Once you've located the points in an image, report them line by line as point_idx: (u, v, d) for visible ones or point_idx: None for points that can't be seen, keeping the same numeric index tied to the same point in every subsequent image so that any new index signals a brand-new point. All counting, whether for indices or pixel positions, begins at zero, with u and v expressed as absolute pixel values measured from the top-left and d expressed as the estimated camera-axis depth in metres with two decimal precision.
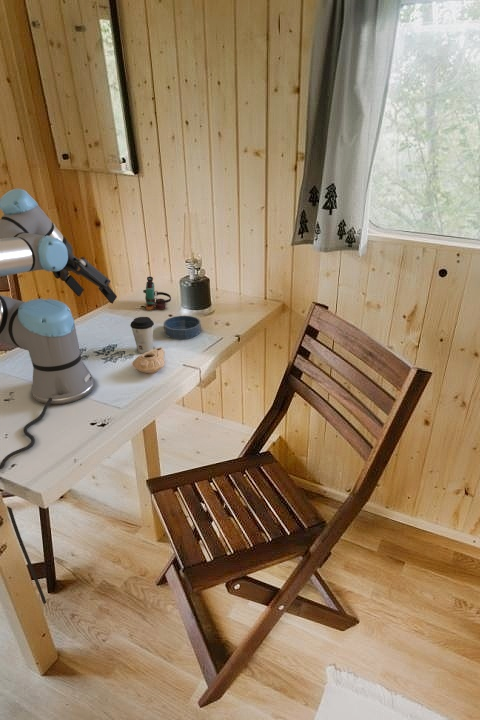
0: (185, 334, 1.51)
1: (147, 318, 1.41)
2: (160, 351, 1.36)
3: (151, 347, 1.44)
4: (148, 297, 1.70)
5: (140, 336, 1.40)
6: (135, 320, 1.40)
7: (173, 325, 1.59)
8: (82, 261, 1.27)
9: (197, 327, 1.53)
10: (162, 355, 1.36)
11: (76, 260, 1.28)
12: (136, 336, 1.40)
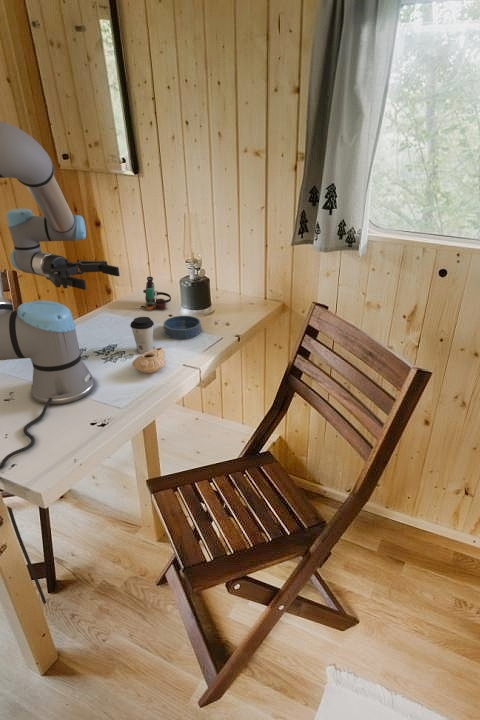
0: (185, 334, 1.51)
1: (147, 318, 1.41)
2: (160, 351, 1.36)
3: (151, 347, 1.44)
4: (148, 297, 1.70)
5: (140, 336, 1.40)
6: (135, 320, 1.40)
7: (173, 325, 1.59)
8: None
9: (197, 327, 1.53)
10: (162, 355, 1.36)
11: None
12: (136, 336, 1.40)
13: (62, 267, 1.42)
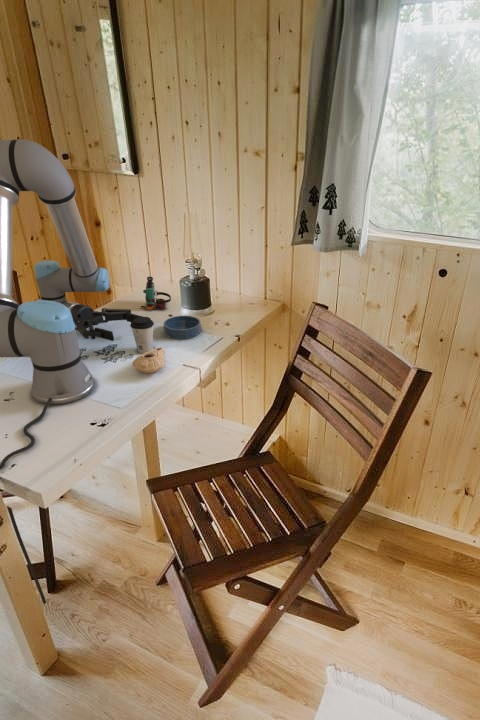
0: (185, 334, 1.51)
1: (147, 318, 1.41)
2: (160, 351, 1.36)
3: (151, 347, 1.44)
4: (148, 297, 1.70)
5: (140, 336, 1.40)
6: (135, 320, 1.40)
7: (173, 325, 1.59)
8: None
9: (197, 327, 1.53)
10: (162, 355, 1.36)
11: None
12: (136, 336, 1.40)
13: (89, 317, 1.47)
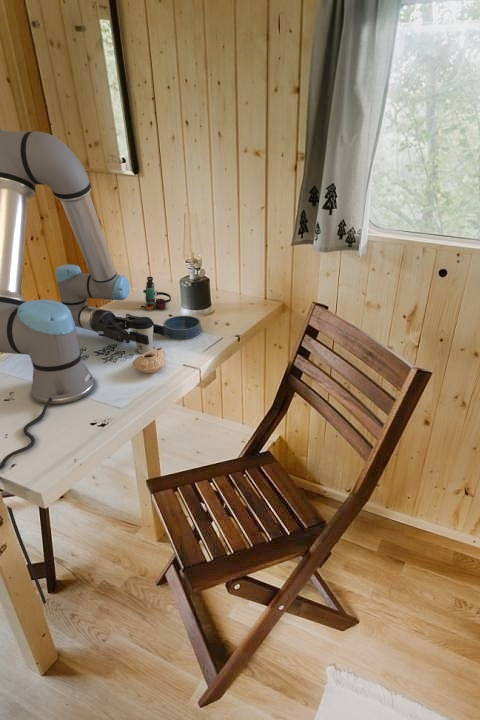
0: (185, 334, 1.51)
1: (147, 318, 1.41)
2: (160, 351, 1.36)
3: (151, 347, 1.44)
4: (148, 297, 1.70)
5: None
6: (135, 320, 1.40)
7: (173, 325, 1.59)
8: None
9: (197, 327, 1.53)
10: (162, 355, 1.36)
11: None
12: None
13: (114, 322, 1.44)
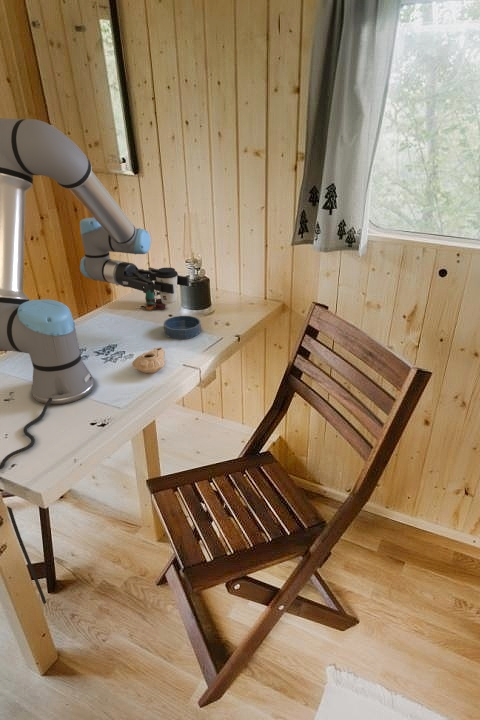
0: (185, 334, 1.51)
1: (171, 268, 1.43)
2: (160, 351, 1.36)
3: (175, 298, 1.46)
4: (148, 297, 1.70)
5: None
6: (160, 270, 1.41)
7: (173, 325, 1.59)
8: None
9: (197, 327, 1.53)
10: (162, 355, 1.36)
11: None
12: None
13: (138, 274, 1.45)
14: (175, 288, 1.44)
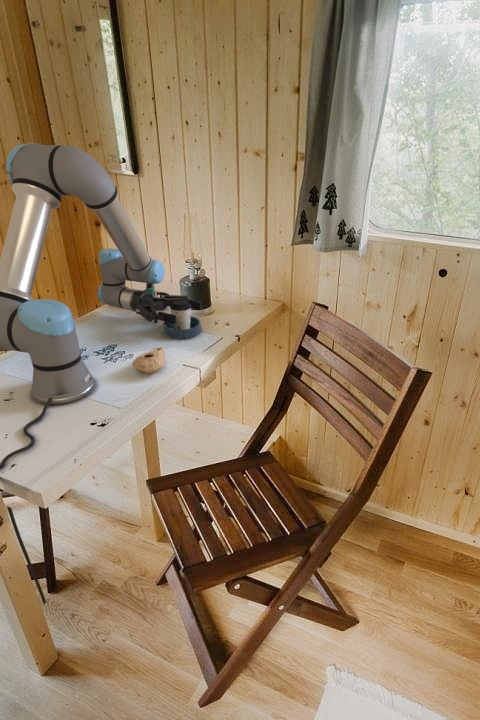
0: (185, 334, 1.51)
1: (185, 301, 1.52)
2: (160, 351, 1.36)
3: (188, 328, 1.55)
4: None
5: (180, 317, 1.51)
6: (174, 302, 1.51)
7: (173, 325, 1.59)
8: None
9: (197, 327, 1.53)
10: (162, 355, 1.36)
11: None
12: None
13: (150, 302, 1.54)
14: (189, 319, 1.53)
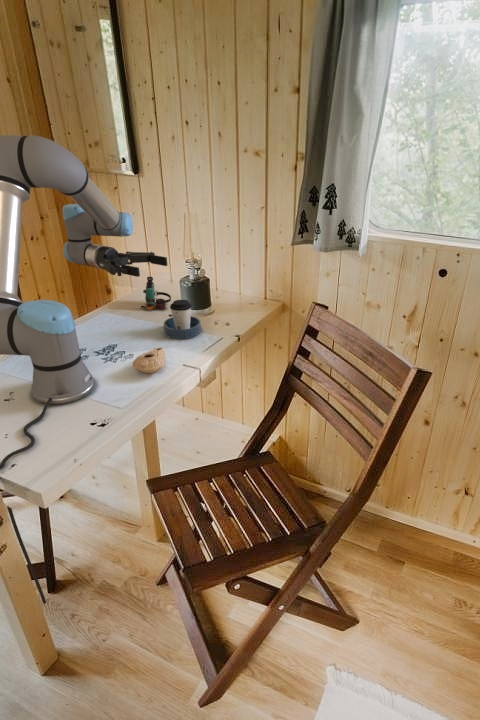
0: (185, 334, 1.51)
1: (185, 301, 1.52)
2: (160, 351, 1.36)
3: (188, 328, 1.55)
4: (148, 297, 1.70)
5: (180, 317, 1.51)
6: (174, 302, 1.51)
7: (173, 325, 1.59)
8: None
9: (197, 327, 1.53)
10: (162, 355, 1.36)
11: None
12: (175, 317, 1.52)
13: (115, 257, 1.52)
14: (189, 319, 1.53)
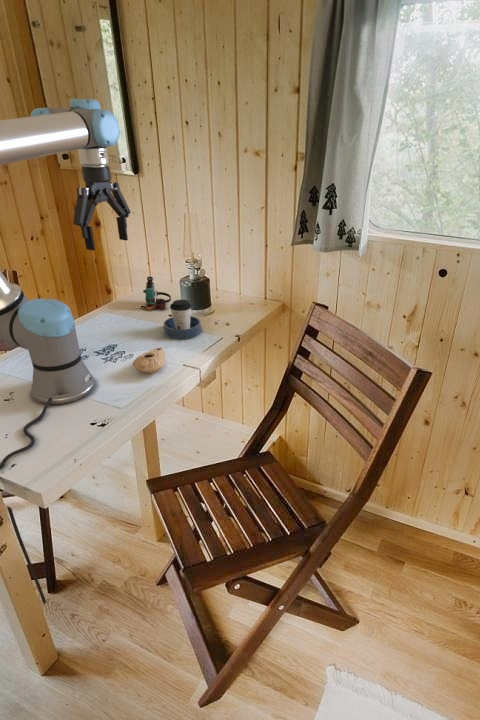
0: (185, 334, 1.51)
1: (185, 301, 1.52)
2: (160, 351, 1.36)
3: (188, 328, 1.55)
4: (148, 297, 1.70)
5: (180, 317, 1.51)
6: (174, 302, 1.51)
7: (173, 325, 1.59)
8: (80, 189, 1.27)
9: (197, 327, 1.53)
10: (162, 355, 1.36)
11: None
12: (175, 317, 1.52)
13: None
14: (189, 319, 1.53)
